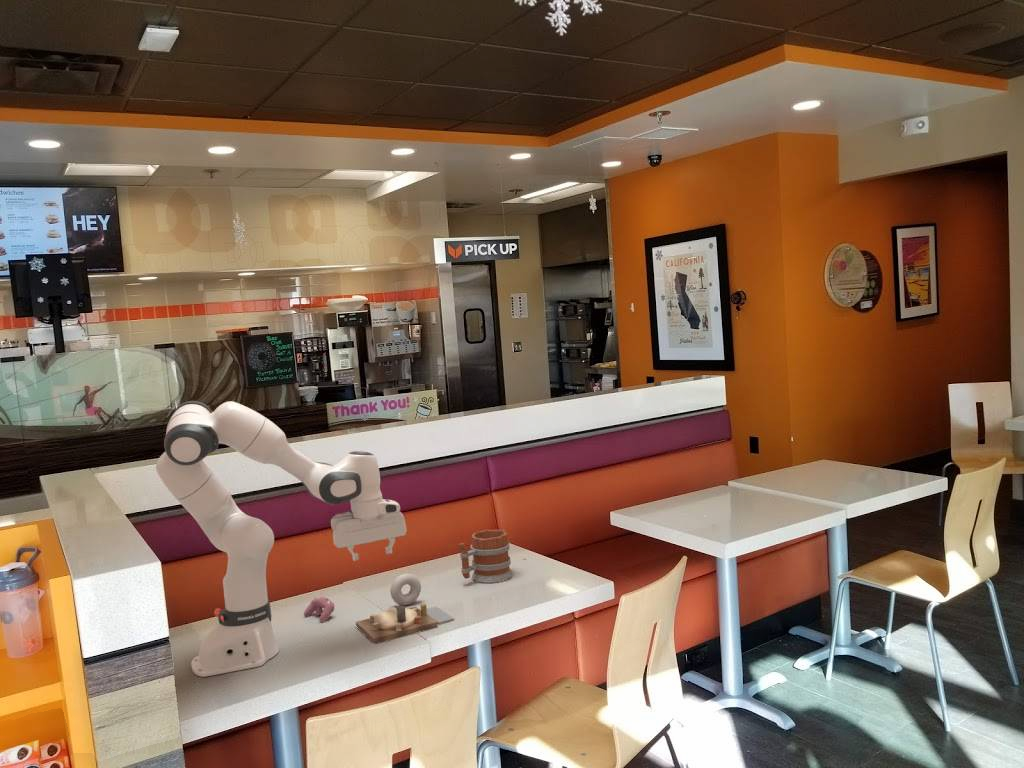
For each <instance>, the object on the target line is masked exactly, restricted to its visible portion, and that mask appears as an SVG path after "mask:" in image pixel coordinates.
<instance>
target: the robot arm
mask: <svg viewBox="0 0 1024 768" xmlns="http://www.w3.org/2000/svg"><path fill="white" fill-rule="evenodd" d="M163 439H164V441H163V445H164V452H163V453H162V454H161V455H160V456H159V458H158V459H157V461H156V465H155V469H156V472H157V474H158V476H159V478H160V479H161V481H162V482H163V485H165V487H166V488H167V490H168V491H169V492H170V493H171V495H172V496H173V497H174V498H175V500H177V501H178V502H179V503H180V504H181V506H182V507H183V508H184V509H185V510H186V511H187V512H188V513H189V514H190V515H191V516H192V517H193V519H194V520H195V521H196V522H197V524H198V525H199V527H200V528H201V529H202V531H203V533H204V534H205V536H206V537H207V538H208V540H209V541H210V543H211V544H212V545H213V546H214V547H215V548H216V549H218V550H219V551H222V552H224V553H226V555H227V567H226V573H225V575H224V577H223V579H222V585H223V586H222V588H223V597H224V605H225V606H224V608H223V609H221V608H220V607H216V608H215V609H214V610H213V611H214V615H215V617H216V618H217V619H218V624H216V625H215V626H214V628H212V629H211V631H210V632H208V634H206V635H205V636H204V637H203V638H202V640H201V642H200V645H199V651H198V652H199V653H198V654H199V655H197V656H195V657H194V658H193V659H192V660H191V662H190V663H191V664H190V665H191V666H190V668H191V671H192V673H194V674H195V676H198V677H202V678H203V677H204V678H205V677H210V676H215V675H221V674H226V673H231V672H237V671H241V670H242V671H243V670H247V669H251V668H252V669H253V668H258V667H261V666H263V665H264V664H265V663H266V662H267V661H269V660H270V659H271V658H272V659H273V658H274V657H275V656H277V655H278V653H279V651H280V648H279V646H278V643H277V641H276V638H275V635H274V631H273V626H272V607H271V606H272V605H271V603H270V602H271V601H270V600H269V598H268V587H267V562H268V559H269V554H270V552H271V550H272V549H273V546H274V543H275V535H274V534H275V533H274V532H273V530H272V528H271V527H270V526H269V524H267V523H266V522H265V521H263V520H262V519H260V518H258V517H253V516H251V515H248V514H246V513H245V512H243V511H242V510H241V509H240V508H239V507H238V505H237V504H236V502H235V500H234V498H233V497H232V495H231V494H232V493H231V491H230V490H229V488H228V487H227V486H226V485H225V484H224V483H223V482H222V480H221V479H220V478H219V477H218V476H217V475H216V473H214V471H213V470H212V469H211V468H210V467H209V466H208V464H207V463H206V462H205V461H204V460H203V459H205V458H206V457H207V456H208V455H210V454H212V453H214V451H216V450H218V448H219V445H220V444H221V445H226V446H228V447H230V448H232V449H233V450H235V451H237V452H238V453H239V454H241V455H243V456H244V457H246V458H248V459H251V460H252V461H255V462H257V463H260V464H264V465H274V466H276V467H279V468H280V469H282V470H283V471H286V472H287V473H288V474H290V475H292V476H293V477H294V478H296V479H298V480H299V481H300V482H301V483H302V484H303V486H304V487H305V489H306V491H307V493H309V494H310V495H311V496H312V497H314V498H316V499H319V500H321V501H322V502H325V503H327V504H330V505H339V504H343V503H345V502H348V501H350V510H351V511H347V512H346V511H345V512H342V513H336V514H335V515H334V516H332V518H331V520H330V527H331V530H332V531H333V532H332V540H333V545H334V547H336V548H338V549H343V548H347V550H348V552H350V554H351V556H352V561H353V562H356V561H360V556H359V555H360V554H359V553H358V552H354V551H353V550H354V548H355V547H354V546H357V545H362V544H368V543H372V542H373V543H374V542H378V541H383V540H388V541H389V543H388V546H385V547H384V548H385V554H386V555H392V554H393V546H394V544H395V543H396V538H397V537H398V538H399V537H403V536H406V534H407V532H408V531H407V525H406V524H407V523H406V520H405V517H404V514H403V512H401V506H400V503H398V502H397V501H396V500H393V499H386V498H385V499H384V498H383V493H382V491H381V487H380V486H381V474H380V473H381V472H380V468H379V463H378V460H377V457H376V455H374V454H373V453H372V452H371V453H370V452H368V451H360V450H357V451H349V452H348V453H347V455H346V456H345V457H344V458H343V459H341V460H340V461H339V462H337V463H336V464H334V465H333V464H330V463H328V462H327V463H326V462H319V461H314V460H312V459H310V458H309V457H308V456H306V455H305V454H303V453H302V452H300V451H298V450H297V449H296V448H294V447H293V446H292V445H291V444H289V442H288V440H287V436H286V434H285V432H284V431H283V430H282V429H281V428H280V427H279V426H278V425H277V424H275V423H274V422H273V421H271V420H270V419H269V418H267V417H265V416H264V415H262V414H261V413H260V412H257V411H256V410H254V409H252V408H249V407H248V406H245V405H243V404H241V403H238V402H236V401H225V402H223V403H221V404H219V406H217V407H216V409H214V411H212V410H211V408H210V407H209V406H208V405H207V404H206V403H204V402H201V401H197V400H189V401H185V402H183V403H182V404H179V405H178V406H177V407H176V408H175V409H174V411H173V412H172V413H171V417H170V418H169V421H168V423H167V425H166V433H165V436H164V438H163Z"/></svg>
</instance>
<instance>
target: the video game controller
mask: <svg viewBox="0 0 1024 768" xmlns="http://www.w3.org/2000/svg"><path fill="white" fill-rule="evenodd" d="M334 610H335V603H334V602H332V600H331V599H329V598H327V597H324V596H320V597H314V598H313V599H312V600H311V602H310V604H308V606H307V607H306V608H305V609H304V612H303V616H304V617H305V618H308V617H307V616H309V617H310V616H311V615H313V614H315V616H317V615H318V617H319V622H320V623H324V622H326V621H327V620H329V618H330V616H331V615H332V613H333V612H334ZM319 615H321V616H319ZM323 621H324V622H323Z"/></svg>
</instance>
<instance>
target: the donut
mask: <svg viewBox="0 0 1024 768" xmlns="http://www.w3.org/2000/svg"><path fill="white" fill-rule="evenodd" d="M391 583H392V584H391V586H390V591H389V592H390V596H391V599H392V600H393V602H394V603H395V604H398V605H399V606H409V605H411V604H413V603H414V602H415V601H417V600H418V598H419V596H420V595H421V592H422V591H421V590H422V585H421V584H422V583H421V581H420V580H419V578H418V576H416V575H415V574H412V573H406V572H405V573H402V574H400V575H398V576H397V577H396V578H394V580H393V581H392V582H391ZM406 585H408V586H409V588H410V589H409V591H408V593H405V594H404V593H403V592H402V588H403V587H404V586H406Z"/></svg>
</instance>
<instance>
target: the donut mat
mask: <svg viewBox="0 0 1024 768" xmlns="http://www.w3.org/2000/svg"><path fill="white" fill-rule="evenodd" d="M426 609H427V615H428V616H430V617H431V618H432V619H434V620H435V621H437V625H442V624H446V623H450V621H451V622H453V621H454V622H455V618H454V617H453V616H451V615H450V614H448V613H447V612H446V611H443V610H442V609H441V608H440V607H438V606H432V607H429V608H426Z"/></svg>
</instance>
